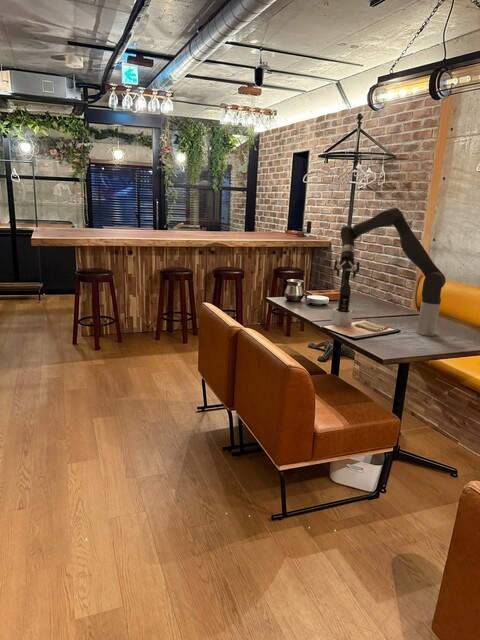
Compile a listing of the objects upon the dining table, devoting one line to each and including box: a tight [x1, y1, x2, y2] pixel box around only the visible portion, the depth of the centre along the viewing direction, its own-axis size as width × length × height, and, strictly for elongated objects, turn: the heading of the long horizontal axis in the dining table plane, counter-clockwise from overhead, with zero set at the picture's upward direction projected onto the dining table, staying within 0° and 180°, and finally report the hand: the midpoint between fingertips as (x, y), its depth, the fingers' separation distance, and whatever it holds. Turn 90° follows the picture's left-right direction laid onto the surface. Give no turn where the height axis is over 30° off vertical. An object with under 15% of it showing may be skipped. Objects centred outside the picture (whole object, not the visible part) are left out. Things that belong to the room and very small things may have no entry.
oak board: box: [354, 321, 389, 332], centre depth 252 cm, size 13×13×1 cm
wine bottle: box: [337, 269, 352, 312], centre depth 251 cm, size 6×6×30 cm
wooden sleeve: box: [331, 307, 354, 327], centre depth 253 cm, size 10×10×8 cm
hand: (345, 276), depth 259 cm, fingers open, 8 cm apart
